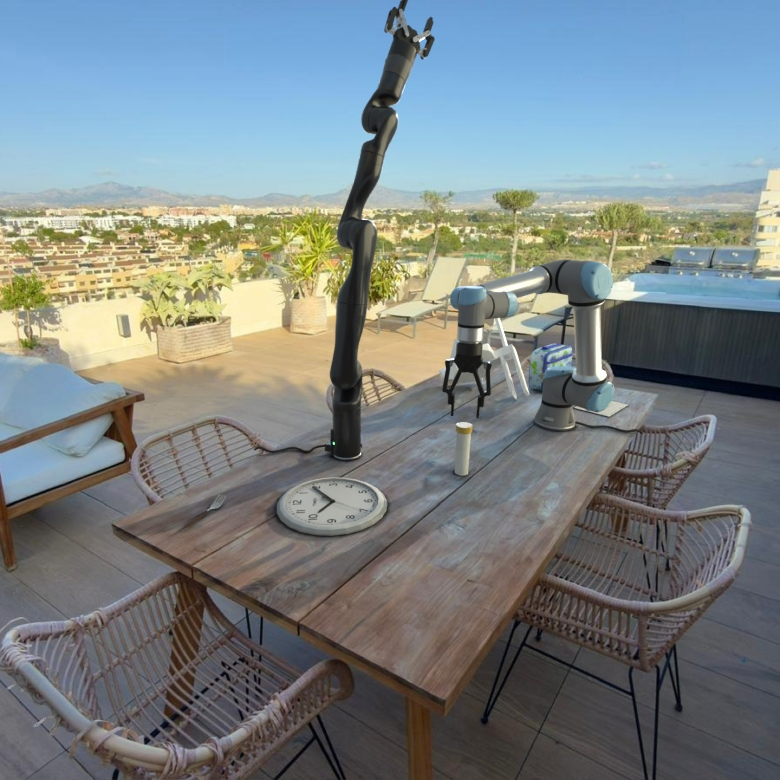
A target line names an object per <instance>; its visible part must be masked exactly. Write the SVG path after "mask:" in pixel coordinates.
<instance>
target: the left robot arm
mask: <svg viewBox="0 0 780 780" xmlns="http://www.w3.org/2000/svg"><path fill="white" fill-rule="evenodd" d="M408 1H409V0H400V1H399V3H398V7H396V6H393V7H392V8H391V9H390V10H389V11H388V14H387V17H386V21H385V25H384V29H383V31H384V33H386V34H388V33H389V34H390V35H392V41H391V44H390V47H389V49H388V53H387V56H386V58H385V59H384V60H385V61H384V64H383V68H382V73H381V76H380V78H379V79H380V80H379V82H378V85H377V88H376V89H375V91H374V92H373V93H372V95H371V96H370V98H369V99H368V101H367V103H366V104H365V106H364V107H363V109H362V113H361V117H360V125H361V127H362V129H363V131H364V132H365V133H366V134H370V135H375V136H374V137H373V138H372V139H369V140H365V141H363V143H362V144H361V147H360V152H359V156H358V163H357V167H356V171H355V176H354V179H353V182H352V185H351V189H350V191H349V194H348V196H347V200H346V202H345V205H344V209H343V211H342V214H341V217H340V218H339V222H338V225H337V229H336V241H337V243H338V245H339V246H340V247H341V248H342V249H345V250H349V251H352V257H351V266H350V268H349V272H348V273H347V275H346V278H345V280H343V282H342V285H341V287H340V289H339V290H338V293H337V296H336V297H337V298H336V309H335V325H334V347H333V348H334V349H333V354H332V359H331V364H330V369H329V380H330V383H331V384H332V386H333V395H332V397H331V398H332V399H331V407H332V409H331V410H332V412H331V413H332V415H331V416H332V428H330V430H329V431H330V433H329V435H330V439H329V440H328V441H327V442H325V444H318V445H315V446H313V447H312V448H311V449H308V450H305V449H303V448H300V447H297V446H288V447H284V448H280V449H276V450H270V449H267V448H265V447H264V446H256V447H254V448H253V451H257V450H262V451H264V452H267V453H269V454H270V453H271V454H276V453H280V452H281V453H282V452H284V451H288V450H297V451H300V452H302V453H306V454H309V453H312V452H313V451H314V450H316V449H320V448H324V452H327V453H328V452H329V453H330V457H332V458H334V459H336V460H338V461H347V462H348V461H354V460H357V459H359V458H360V457H361V456H362V449H363V444H362V427H361V426H362V398H363V368H362V364H361V362H360V361H359V360H358V354H359V353H358V352H359V345H360V341H361V339H362V335H363V332H364V328H365V323H366V318H367V312H368V302H369V301H368V300H369V290H370V283H371V275H372V274H371V273H372V270H373V269H372V268H373V265H374V264H373V262H374V258H375V254H376V249H377V243H378V229H377V226H376V224H375V223H374V221H372V220H370V219H367V218H362V216H363V212H364V208H365V205H366V203H367V201H368V199H369V197H370V196H371V194H372V193H373V191H374V189H375V188H376V186H377V185H378V182H379V181H380V178H381V175H382V172H383V167H384V163H385V157H386V154H387V152H388V149H389V147H390V145H391V143H392V141H393V139H394V137H395V135H396V133H397V131H398V127H399V115H398V112H397V111H396V108H394V107H392V106H395V105H397V104H398V103H399V102H400V101H401V99H402V97H403V93H404V90H405V87H406V85H407V82H408V81H409V78H410V76H411V72H412V69H413V67H414V64H415V60H416V58H417V55H419V56H420V59H421V60H423V61H424V59H426V58H427V57H428V56H430V52H431V51H432V47H433V45H434V43H435V40H436V39H435V37H434V36H433V35H432V34H431V31H432V28H433V26H434V18H433V17H432V16H429V17H428V18H427V20H426V21H425V22H426V23H425V25H424V27H423V32H421V33H419V34H418V31H417V30H416V29H414V28H412V26H410V25H409V24H407V19H406V18H405V14H404V12H405V11H406V8H407V4H408ZM395 21H396V24H395ZM395 26H396V29H395ZM423 40H426V42H425V44H424V47H421V41H423Z"/></svg>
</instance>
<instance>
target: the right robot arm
mask: <svg viewBox="0 0 780 780" xmlns="http://www.w3.org/2000/svg"><path fill="white" fill-rule="evenodd" d="M613 286H614V276H613V272H612V270H611V269H610V267H609V266H607V264H606V263H604V262H600V261H599V262H598V261H595V260H580V259H579V260H576V259H558V260H554V261H551V262H546V263H543V264H539V265H536V266H533V267H532V268H530V270H529V271H525V272H521V273H517V274H513V275H510V276H506V277H503V278H499V279H495V280H492V281H488V282H483V283H480V284H476V285H466V286H465V285H464V286H463V285H462V286H457V287H455V288H454V289H453V290H452V291H451V293H450V296H449V299H450V300H449V301H450V305H451V307H452V308H453V309H455V310H456V311H457V326H456V327H457V328H456V339H457V340H459V341H457V343H456V356H455V358H454V359H450V358H446V359H445V361H444V365H445V368H446V371H445V377H444V382H443V381H442V389H441V391H442V393H446V394H447V404H448V405H450V417H454V415H455V401H456V392H454V390H455V388H456V386H457V385H458V384H457V382H458V380H459V377H460V375H461V373H466V372H468V373H473V375H474V377H475V380H476V383H475V384H476V387H477V391H478V393H479V394H478V395H477V401H476V402H477V403H476V417H475V418H476V419H480V412H481V411H480V409H481V408H484V406H485V398H486V397H490V396H491V395H492V385H491V383H492V382H491V381H492V380H491V372H490V369H491V366H492V362H491V361H489V362H487V361H483V358H482V347H483V344H484V343H483V342H482V341H484V331H485V321H486V320H491V319H495V318H500V319H505V318H508V317H512V316H514V315H515V314H516V313H517V311H518V306H519V301H518V300H519V298H522V297H525V296H529V295H533V294H536V295H543V294H559V295H563V296H567V304H568V306H570V307H571V308H572V309H573V310H572V312H573V313H572V314H573V332H574V351H575V352H574V354H575V366H571V367H570V366H555V367H549V368H547V369H546V370H545V375H544V378H543V379H544V380H543V391H541V402H540V405H539V407H538V410H537V411H536V413H535V417H534V424H535V425H536V426H537V427H539V428H542V429H544V430H549V431H556V432H567V431H572V430H574V429H575V428H576V425H579V426H582V427H586V428H588V429H589V428H590V429H610V430H613V431H616V432H621V433H629V434H630V433H634V432H637V433H639V434H640V435H644V432H643V431H642V430H641V429H639V428H632V429H622V428H618V427H615V426H611V425H606V424H605V425H603V424H600V425H599V424H597V425H595V424H593V425H592V424H587V423H585V422H581V421H577V420H576V418H575V417H576V416H575V413H574V407H576V406H578V407H580V408H583V409H586V410H587V411H586V412H588V411H593V412H601V411H603V410H604V409H606V408H607V407H608V405H609V404H610V402H611V401H613V398H614V396H615V386H614V384H613V383H612V382H611V381H608V375H607V372H606V371H605V370H604V369H603V359H602V358H603V356H602V355H603V354H602V352H603V351H602V317H601V316H602V315H601V306H602V305H603V304H604V303H605V302H606V298H608V297H609V295H610V294H611V293H612V289H613ZM453 363H455V364H456V366H457V367H458V371H457V374H456V376H455V378H454V380H453V382H452V384H450V387H448V386H449V385H448V380H449V374H450V368H451V366H452V365H453ZM482 364H483V365H484V369H486V376H485V389H486V390H485V389H484V386H483V383H482V381H481V379H480V376H479V372H478V368H479V367H480V366H481V365H482ZM573 406H574V407H573Z"/></svg>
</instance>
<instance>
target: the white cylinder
mask: <svg viewBox="0 0 780 780" xmlns="http://www.w3.org/2000/svg"><path fill="white" fill-rule="evenodd" d="M471 436H472V433H469V434H461V433H458V432H456V441H455V442H456V443H455V459H454V474H455V475H457V476H460V477H461V476H462V477H463V476H468V475H469V468H470V467H469V466H470V452H471V439H472V438H471Z"/></svg>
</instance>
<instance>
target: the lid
mask: <svg viewBox="0 0 780 780" xmlns="http://www.w3.org/2000/svg"><path fill="white" fill-rule="evenodd" d="M473 426H474V425H473V423H470V422H466V421H459V422H457V423H456V424H455V432H456V433H457V432H458V433H461V434H469V433H471V434H472V433H473Z"/></svg>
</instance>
